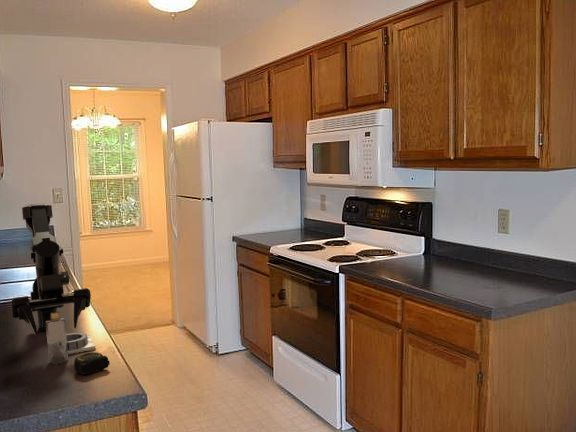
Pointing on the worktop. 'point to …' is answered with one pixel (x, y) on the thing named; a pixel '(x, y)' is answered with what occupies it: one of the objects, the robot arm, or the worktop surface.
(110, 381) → the worktop surface
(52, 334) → the gold-capped glass bottle
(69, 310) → the worktop surface
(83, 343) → the socket flange
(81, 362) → the tape measure
